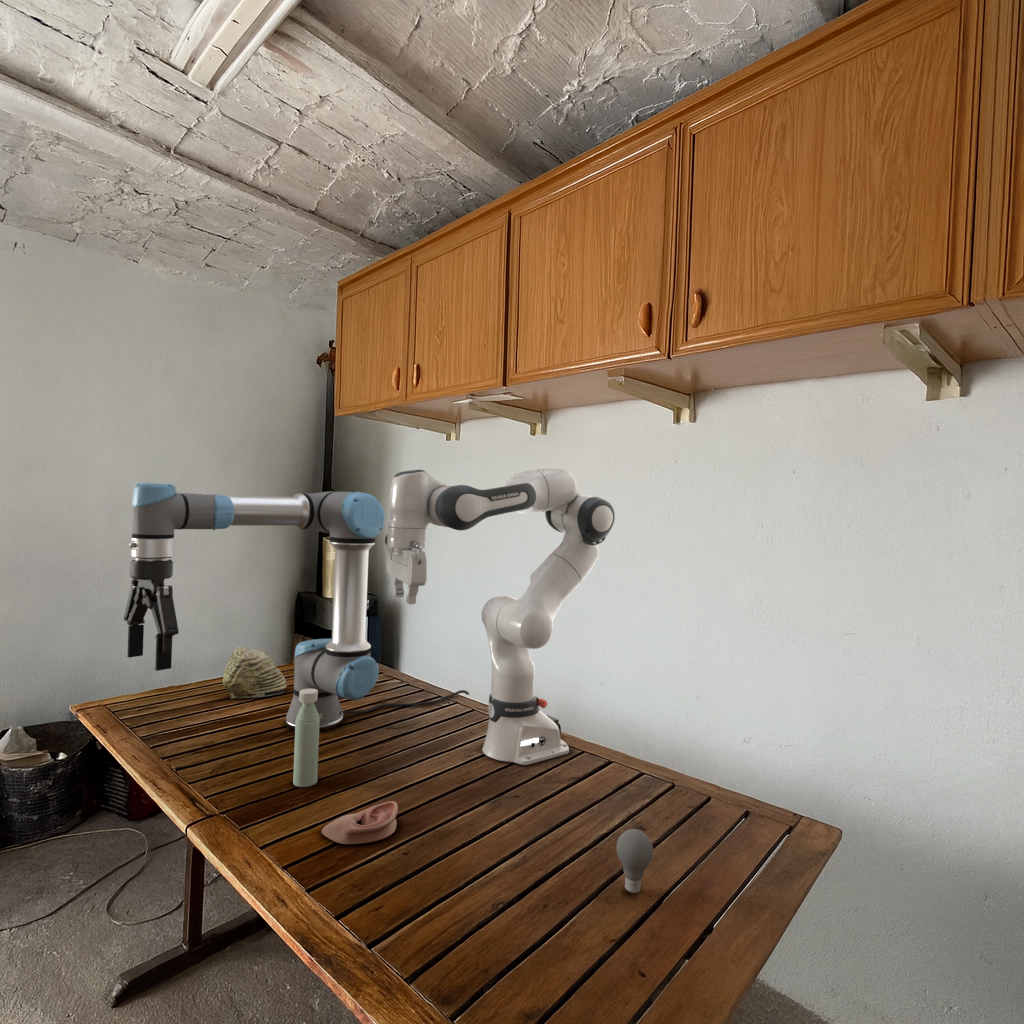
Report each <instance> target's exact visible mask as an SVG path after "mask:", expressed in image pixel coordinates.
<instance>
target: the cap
mask: <svg viewBox="0 0 1024 1024" xmlns="http://www.w3.org/2000/svg"><path fill="white" fill-rule="evenodd" d="M317 699H318V690H316V689H303V690H300V693H299V701H300V702H302V703H312V702H316V701H317Z"/></svg>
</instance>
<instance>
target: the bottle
mask: <svg viewBox="0 0 1024 1024" xmlns="http://www.w3.org/2000/svg"><path fill="white" fill-rule="evenodd" d="M315 707H316V706H315V705H314V702H312V703H302V706H301V709H300V710H299V713H298V716H297V717H296V721H295V730H294V748H293V749H294V750H293V752H294V753H293V755H294V756H293V775H292V776H293V777H292V784H293V785H294V786H295V787H298V788H309V787H312V786H314V785H316V784H317V783H318V775H319V747H320V743H319V742H320V731H319V722H320V719H319V715H318V712H317V709H316V708H315Z"/></svg>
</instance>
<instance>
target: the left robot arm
mask: <svg viewBox="0 0 1024 1024" xmlns="http://www.w3.org/2000/svg"><path fill="white" fill-rule="evenodd" d="M385 515H386V513H385V511H384V508H383V505H382V503H381V502H380V501H379V500H378V498H377V497H375V495H373V494H370V493H367V492H363V491H362V492H361V491H337V490H336V491H335V490H333V491H332V490H330V491H321V492H311V493H295V494H294V495H293V496H276V495H275V496H274V495H273V496H272V495H248V494H247V495H246V494H244V495H243V494H220V493H219V494H218V493H217V494H216V493H215V494H214V493H189V492H187V493H186V492H177V491H176V486H175V485H174V484H173V483H152V482H139V483H137V484H136V485H135V486H134V488H133V492H132V501H131V520H132V521H131V542H130V543H128V547H129V548H130V549H131V550H130V556H131V558H133V559H132V560H131V561H130V567H129V568H130V571H129V574H130V575H129V576H130V578H131V581H130V590H129V594H128V598H127V603H126V607H125V610H124V615H123V621H124V622H126V624H127V626H128V629H127V630H128V631H127V658H135V657H142V656H144V635H145V634H144V630H145V625H144V624H145V623H146V621H145V619H144V618H145V616H146V615H147V612H148V609H149V610H151V613H152V618H153V620H154V624H155V627H156V631H157V633H156V635H155V636H154V638H155V661H154V663H155V665H154V668H155V669H154V670H155V671H157V672H159V671H164V670H169V669H172V659H173V657H172V655H173V637H175V636H176V635H179V632H180V631H179V625H178V619H177V615H176V614H177V613H176V609H175V603H174V597H173V595H174V593H173V585H165V580H167V579H171V578H172V577H173V575H174V573H173V572H174V561H173V560H172V559H171V558H173V557H174V554H175V553H174V552H175V530H213V531H215V530H224V529H228V528H230V526H233V527H234V526H237V527H238V526H240V527H243V526H246V527H247V526H249V527H250V526H258V527H259V526H268V527H269V526H276V527H277V526H282V527H284V526H285V527H286V526H287V527H288V526H289V527H290V526H291V527H293V528H294V529H296V530H308V531H309V530H310V531H316V532H319V533H325V534H329V544H330V545H331V546H332V547H333V548H334V550H335V551H334V572H333V573H334V577H333V599H332V625H331V626H332V627H331V638H317V639H308V640H304V641H300V642H299V643H297V645H296V646H295V650H294V655H293V657H294V672H293V673H294V674H293V695H292V696H293V697H292V699H291V702H290V704H289V708H288V711H287V713H286V715H285V726H286V728H287V729H289V730H291V731H295V721H296V717H297V716H298V713H299V710H300V709H301V706H302V702H300V701H299V693H300V690H303V689H316V690H318V699H317V701H316V702H314V705H315V706H316V707H315V708H316V709H317V712H318V715H319V719H320V722H319V732H325V731H329V730H332V729H335V728H337V727H339V726H340V725H342V723H343V722H344V715H352V714H353V715H355V714H365V713H369V712H372V711H374V710H376V709H380V708H386V707H387V708H388V707H413V706H425V705H431V704H436V703H439V702H442V701H444V700H447V699H449V698H452V697H455V696H457V695H459V694H463V693H464V694H466V695H467V696H468V695H470V692H469V691H467V690H464V689H462V690H461V689H460V690H458V691H455V692H453V693H451V694H448V695H445V696H443V697H440V698H438V699H433V700H430V701H422V702H411V703H410V702H409V703H408V702H407V703H382V704H377V705H374V706H373V707H370V708H367V709H362V710H343V709H342V706H341V702H340V699H339V698H341V699H342V700H343V699H344V700H348V701H349V700H350V701H357V700H360V699H362V698H364V697H365V696H367V695H368V694H370V692H371V690H372V689H374V687H375V685H376V683H377V682H378V678H379V674H380V672H379V671H380V670H379V669H380V668H379V665H378V663H377V662H376V660H375V659H374V657H371V652H372V649H371V648H372V644H371V643H370V642H368V640H367V639H366V631H367V607H368V606H367V605H368V604H367V602H368V582H369V581H368V579H369V555H370V553H369V552H370V550H371V548H372V547H374V545H375V544H376V536H378V535H379V534H380V533H381V530H383V528H384V526H385V522H386V521H385V520H386V516H385Z"/></svg>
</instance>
